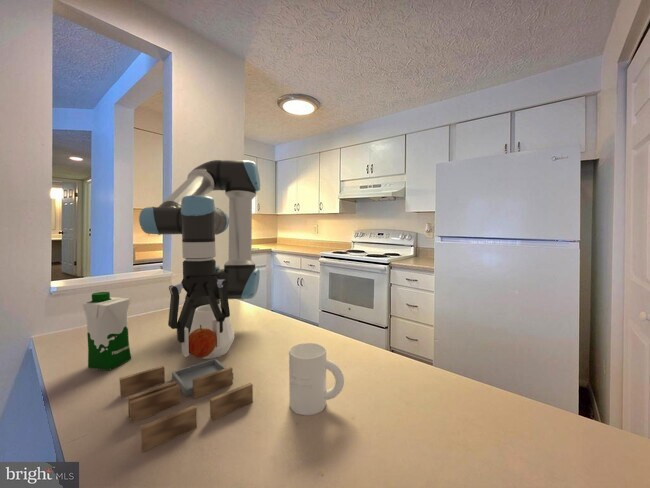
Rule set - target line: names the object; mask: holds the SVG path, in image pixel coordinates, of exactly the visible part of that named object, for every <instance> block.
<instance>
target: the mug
mask: <svg viewBox="0 0 650 488" xmlns="http://www.w3.org/2000/svg"><path fill="white" fill-rule="evenodd" d="M288 355H289V356H288V364H289V366H288V369H289V370H288V371H289V372H288V373H289V384H288V385H289V387H288V388H289V389H288V390H289V407H290V409H291V410H292V412H294V413H295V414H297V415H300V416H312V415H317V414H318V413H320V412H322V411H323V410H324V409H325V408H326V406H327V401H328V400H332V399H335V398H336V397H338V395H339V394H341V392H342V391H343V389H344V386H345V377H344V374H343V371H342V370H341V368H340V366H339V365H338V364H336V362H334V361H332V360H330V359H327V349H326V347H324V346H323V345H321V344H319V343H314V342H313V343H312V342H305V343H299V344H296V345H294V346H291V348H290V349H289V351H288ZM327 370H328V371H329V372H331V374H332V376H333V377H334V380H335V381H334V385H333V386H332V387H331V388H330V389H327Z"/></svg>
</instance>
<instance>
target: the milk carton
mask: <svg viewBox="0 0 650 488" xmlns="http://www.w3.org/2000/svg"><path fill="white" fill-rule="evenodd" d="M130 302H131V298H128V297H127V298H126V297H125V298H124V297H112V296H111V295H110V291H99V292H98V291H97V292H93V293H92V294H91V300H89V301H87V302H83V303H82V307H83V311H84V314H85V317H86V331H87V333H86V334H87V349H88V350H87V368H88V369H94V370H101V369H102V371H103V370H104V371H112V370H113V369H115V368H116V367H119V366H120V364H121V365H123V364H125V363H127V362H128V361H130V360H132V354H131V347H130V341H129V317H128V316H129V314H128V313H129V308H130V304H131V303H130ZM122 363H123V364H122Z"/></svg>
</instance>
